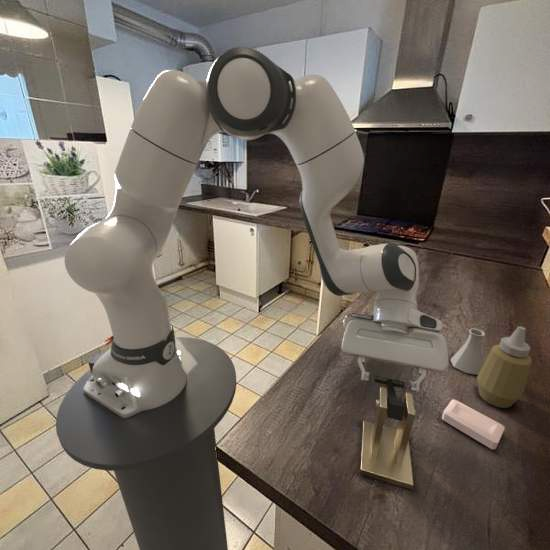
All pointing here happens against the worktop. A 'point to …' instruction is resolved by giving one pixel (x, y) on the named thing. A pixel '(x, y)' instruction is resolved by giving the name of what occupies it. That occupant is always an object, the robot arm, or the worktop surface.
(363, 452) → the cream lever mount
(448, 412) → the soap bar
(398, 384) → the lever
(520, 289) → the worktop surface
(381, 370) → the worktop surface
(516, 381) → the squeeze bottle
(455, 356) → the flask
